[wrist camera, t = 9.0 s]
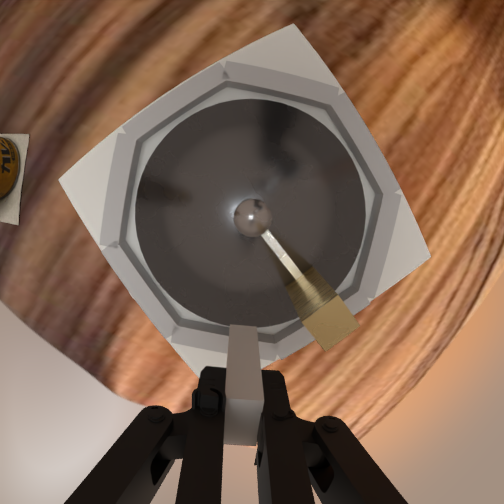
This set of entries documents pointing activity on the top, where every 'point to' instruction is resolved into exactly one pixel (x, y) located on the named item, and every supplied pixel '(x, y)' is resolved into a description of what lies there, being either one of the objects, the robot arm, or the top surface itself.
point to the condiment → (11, 174)
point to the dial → (253, 217)
